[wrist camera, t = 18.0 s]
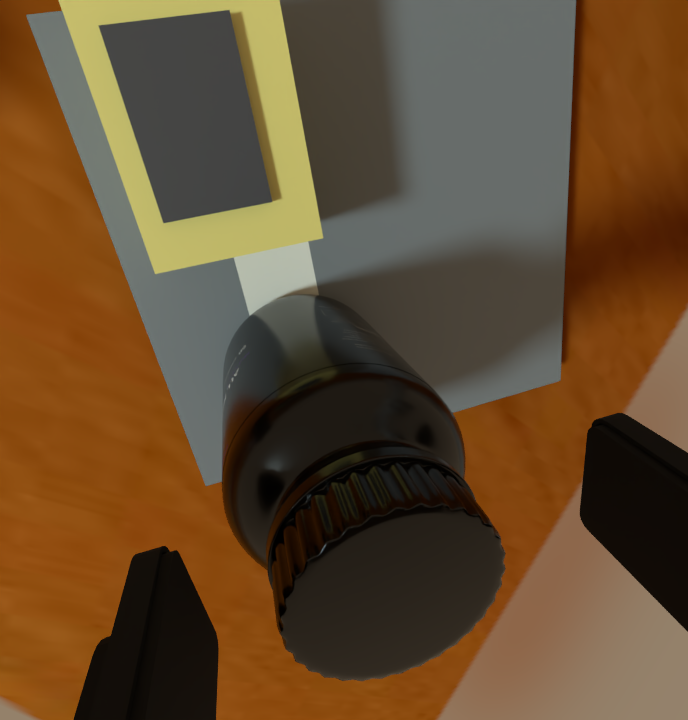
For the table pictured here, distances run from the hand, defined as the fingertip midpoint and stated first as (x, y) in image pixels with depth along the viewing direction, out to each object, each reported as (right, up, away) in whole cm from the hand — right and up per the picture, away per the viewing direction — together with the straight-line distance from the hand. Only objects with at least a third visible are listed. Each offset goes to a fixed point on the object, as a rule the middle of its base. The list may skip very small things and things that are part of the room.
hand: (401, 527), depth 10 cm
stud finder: (-6, +11, +5) cm, 14 cm away
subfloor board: (-1, +9, +10) cm, 13 cm away
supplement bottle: (-3, +3, +10) cm, 11 cm away
